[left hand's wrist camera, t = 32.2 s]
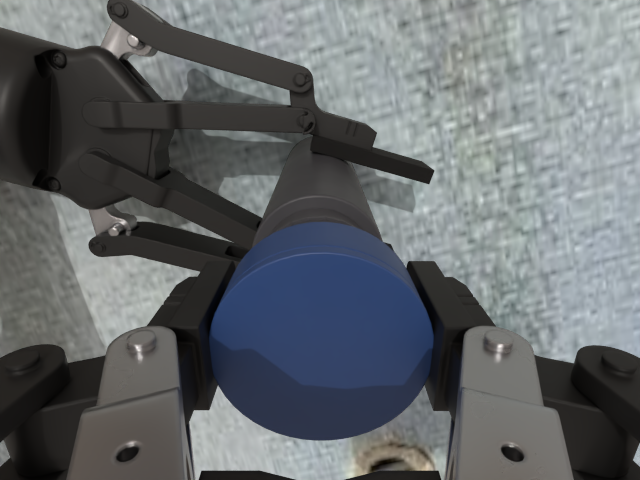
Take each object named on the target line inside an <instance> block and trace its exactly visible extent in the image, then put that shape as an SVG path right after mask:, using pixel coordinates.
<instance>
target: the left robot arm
mask: <svg viewBox="0 0 640 480" xmlns="http://www.w3.org/2000/svg"><path fill="white" fill-rule="evenodd" d="M406 269H407V271H408V273H409V275H410V277H411V279H412V281H413V283H414V285H415V287H416V290H417V292H418V294H419V296H420V298H421V300H422V302H423V304H424V306H425V309H426V311H427V313H428V316H429V318H430V321H431V324H432V329H433V334H434V340H433V349H432V358H431V366H430V373H429V376H428V378H427V380H426V383H425V388H426V391H427V394H428V396H429V399H430V402H431V405H432V408H433V411H449V412H450V414H451V417H452V418H451V424H450V431H449V440H448V450H447V460H446V470H445V480H640V467H639V466H638V465H637V464H636V463H635V462H634V461H633V458H634V456H635V453H636V451H637V448H638V446H639V443H640V358H638V357H636V356H634V355H632V354H630V353H627V352H625V351H622V350H619V349H615V348H611V347H606V346H595V345H593V346H586V347H583V348H581V349H580V350H578V352H577V355H576V358H575V362H574V363H568V362H563V361H558V360H553V359H548V358H543V357H539V356H536V355H534V351H533V348H532V346H531V345H530V344H529V342H528V341H527V340H525V339H524V338H523V337H521V336H520V335H518V334H516V333H514V332H512V331H509V330H506V329H503V328H499V327H496V326H495V324H494V323H493V322H492V320H491V319H490V318H489V316H488V315H487V314H486V312H485V311H484V309H483V308H482V307H481V305H479V303H478V301H477V300H476V299H475V297H473V294H472V293H471V292H470V290H469V289H468V288H467V286H466V285H464V284H463V283H461V282H460V281H458V280H456V279H455V278H453V277H444V275H443V273H442V272H441V270H440V269H439V267H438V266H437V264H436V263H435V262H434V261H409V262H408V264H407V268H406ZM235 270H236V268H235V263H234V261H208V262H207V263H206V264H205V266H204V267H203V269H202V271H201V272H200V274H199V275H198V277H188V278H187V279H185V280H184V281H182V282H181V283H179V284H177V285H176V286H175V288H174V289H173V291H172V292H171V293H170V296H169V297H167V299H166V300H165V302H164V305H162V306H161V307H160V309H159V310H158V311H157V313H156V314H155V315H154V317H153V318H152V320H151V321H150V322H149V324H148V325H147V326H146V327H141V328H137V329H134V330H131V331H128V332H126V333H124V334H122V335H120V336H119V337H117V338H116V339H115V340H113V341H112V342H111V344H110V345H109V346H108V348H107V351H106V355H105V356H101V357H97V358H92V359H87V360H82V361H77V362H71V363H67V359H66V355H65V352H64V350H63V349H62V348H61V347H59V346H56V345H49V344H44V345H35V346H30V347H26V348H22V349H19V350H17V351H14V352H12V353H9V354H7V355H5V356H3V357H1V358H0V442H1V441H2V440H4V441H5V444H6V447H7V449H8V452H9V455H10V457H11V458H9V459H8V460H7V461H6V462H5V463H4V464H3V465H2V466H1V467H0V480H195V470H194V460H193V450H192V440H191V431H190V424H189V421H190V419H191V416H192V413H193V411H194V410H209V409H210V406H211V403H212V401H213V398H214V395H215V392H216V389H217V386H218V383H217V381H216V379H215V377H214V375H213V369H212V362H211V353H210V345H209V332H210V326H211V323H212V320H213V317H214V314H215V312H216V310H217V308H218V306H219V303H220V301H221V299H222V297H223V295H224V293H225V291H226V288H227V286H228V284H229V282H230V280H231V278H232V276H233V274H234V272H235ZM199 480H294V479H290V478H286V477H283V476H279V475H275V474H271V473H267V472H263V471H201V474H200V477H199ZM346 480H441V477H440V474H439V471H377V472H373V473H369V474H365V475H361V476H357V477H354V478H350V479H346Z"/></svg>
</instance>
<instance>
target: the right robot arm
mask: <svg viewBox="0 0 640 480" xmlns="http://www.w3.org/2000/svg"><path fill="white" fill-rule="evenodd" d="M107 11H108V14H109V16H110V18H111V19H112V23H111V25H110V27H109V29H108V31H107V33H106V35H105V37H104V40H103V42H102V44H101V46H88V47H85V48H81V49H73V48H69V47H66V46H63V45H59V44H56V43H52V42H49V41H45V40H42V39H39V38H35V37H32V36H28V35H25V34H21V33H18V32H15V31H11V30H8V29H4V28H1V27H0V180H3V181H7V182H11V183H15V184H19V185H22V186H26V187H30V188H34V189H39V190H45V191H51V192H56V193H60V194H62V195H64V196H66V197H68V198H70V199H71V200H72V201H74V202H75V203H76V204H77V205H79V206H80V207H83V208H85V209H88V210H89V213H90V216H91V220H92V223H93V226H94V230H95V233H96V236H95V237H94V238H92V239H91V240H90V242H89V249H90V251H91V252H92V253H93V254H94V255H96V256H99V257H108V256H122V255H134V256H138V257H142V258H147V259H151V260H155V261H159V262H163V263H167V264H171V265H175V266H179V267H184V268H188V269H192V270H196V271H200V272H201V271H202V269H203V267H204V266H205V264H206V263H207V262H208V261H234V263H235V268H237V266H238V264H239V263H240V262H241V260H242V259H243V257H244V256H245V255H246V254H247V253H248V252H249V251H250V250H251V249H252V246H253V241H254V237H255V235H256V232H257V230H258V227H259V225H260V223H261V220H262V218H261V217H259V216H257V215H255V214H253V213H251V212H250V211H248V210H246V209H244V208H242V207H240V206H238V205H236V204H234V203H232V202H230V201H228V200H226V199H224V198H223V197H221V196H219V195H217V194H215V193H213V192H211V191H209V190H207V189H205V188H203V187H201V186H199V185H197V184H196V183H194V182H192V181H190V180H188V179H187V178H186V177H185V176H184V175H183V174H182V173H180V172H179V171H177V170H175V169H173V168H171V167H169V162H170V161H169V153H168V145H169V143H170V141H171V138H172V136H173V134H174V129H205V130H233V131H260V132H288V133H303V135H305V134H311V135H313V137H312V141H311V146H310V151H314V152H317V153H321V154H324V155H328V156H331V157H335V158H338V159H342V160H346V161H349V162H353V163H356V164H360V165H363V166H367V167H370V168H374V169H377V170H381V171H384V172H388V173H391V174H395V175H398V176H402V177H405V178H409V179H412V180H416V181H420V182H423V183H427V184H429V183H430V181H431V178H432V175H433V173H434V170H433V169H432V168H430V167H429V166H427V165H426V164H425V163H423V162H422V161H419V160H415V159H412V158H409V157H405V156H402V155H398V154H395V153H391V152H388V151H384V150H381V149H377V148H374V147H373V144H374V140H375V137H376V134H377V132H375V131H374V130H373V129H372V128H371V127H369V126H368V125H367V124H365V123H361V122H358V121H355V120H351V119H348V118H345V117H341V116H338V115H334V114H331V113H328V112H325V111H322V110H321V109H320V108H319V107H318V106H317V104H316V102H315V98H314V84H313V76H312V74H311V72H310V71H309V70H308V69H307V68H305V67H303V66H300V65H296V64H293V63H290V62H287V61H283V60H280V59H277V58H274V57H270V56H267V55H264V54H260V53H257V52H254V51H251V50H247V49H244V48H241V47H238V46H234V45H231V44H228V43H225V42H221V41H218V40H215V39H212V38H208V37H205V36H202V35H199V34H195V33H192V32H189V31H186V30H182V29H179V28H176V27H173V26H172V25H170V24H169V23H167V22H166V21H165V20H163V19H162V18H161V17H159V16H158V15H157V14H155V13H154V12H153V11H151V10H150V9H149V8H147V7H145V6H143V5H141V4H139V3H137V2H135V1H132V0H109V1H108V4H107ZM158 50H159V51H162V52H164V53H167V54H170V55H174V56H177V57H180V58H184V59H187V60H190V61H194V62H197V63H200V64H204V65H207V66H210V67H214V68H217V69H220V70H224V71H227V72H230V73H234V74H237V75H240V76H244V77H247V78H250V79H254V80H257V81H260V82H264V83H267V84H270V85H274V86H277V87H280V88H284V89H287V90H290V100H291V105H270V104H244V103H217V102H193V101H175V100H162V99H161V97H160V96H159V95H158V94H157V93H156V92H155V91H154V90H153V88H152V87H151V86H150V85H149V84H148V83H147V82H146V81H145V79H144V78H143V77H142V76H141V75H140V74H139V73H138V71H137V70H136V69H135V68H134V67H133V66H132V65H131V64H130V62H129V61H128V60H127V59H128V58H129V57H130V56H131V55H133V54H136V55H139V56H145V57H151V56H154V55H155V54H156V53H157V52H158ZM130 197H135V198H137V199H139V200H141V201H143V202H145V203H147V204H149V205H151V206H154V207H162V208H166V209H168V210H170V211H172V212H174V213H176V214H178V215H180V216H182V217H184V218H186V219H188V220H190V221H192V222H194V223H196V224H198V225H200V226H202V227H204V228H206V229H208V230H210V231H212V232H214V233H216V234H218V235H220V236H222V237H224V238H226V239H228V240H230V241H232V242H234V243H232V242H228V241H225V240H221V239H217V238H213V237H209V236H205V235H201V234H197V233H193V232H189V231H185V230H181V229H177V228H173V227H169V226H165V225H161V224H157V223H152V222H137V218H136V217H135V216H134V215H130V214H127V213H122V212H120V211H118V210H117V209H116V208H115V206H114V204H115V203H117V202H120V201H123V200H125V199H128V198H130ZM385 244H386V245H387V246H388V247H389V248H390V249H392V250H393V248H392V246H391V244H388V243H385ZM393 251H394V250H393Z"/></svg>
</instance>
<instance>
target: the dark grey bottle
mask: <svg viewBox="0 0 640 480" xmlns="http://www.w3.org/2000/svg"><path fill="white" fill-rule="evenodd" d="M311 141H312V137H309V138H306V139H304V140H302V141H301V142H299V143H298V144H297V145H296V146H295V147H294V148H293V149H292V151H291V152H290V154H289V157H288V159H287V161H286V164H285V166H284V168H283V171H282V173H281V175H280V178H279V180H278V183H277V185H276V187H275V190H274V192H273V194H272V197H271V199H270V201H269V204H268V206H267V209H266V211H265V213H264V216H263V218H262V220H261V223H260V225H259V227H258V230H257V232H256V235H255V237H254V241H253V246H252V248H253V247H254V246H255V245H256V244H258V243H259V242H260V241H261V240H263V239H264V238H266V237H268V236H269V235H271V234H273V233H275V232H277V231H279V230H282V229H284V228H287V227H290V226H294V225H298V224H303V223H310V222H332V223H340V224H344V225H348V226H353V227H355V228H358V229H361V230H363V231H366V232H367V233H369V234H371V235H373V236H375V237H377V238H378V239H379V240H381V241H382V238H381V235H380V232H379V230H378V227H377V225H376V222H375V220H374V217H373V215H372V212H371V210H370V207H369V205H368V202H367V200H366V197H365V195H364V192H363V190H362V187H361V185H360V183H359V180H358V178H357V175H356V173H355V170H354V168H353V165H352V163H351V162H349V161H346V160H342V159H338V158H335V157H331V156H328V155H324V154H321V153H317V152H314V151H310V146H311ZM382 242H383V241H382Z"/></svg>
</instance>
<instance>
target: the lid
mask: <svg viewBox="0 0 640 480" xmlns="http://www.w3.org/2000/svg"><path fill="white" fill-rule="evenodd" d="M433 340H434V334H433V329H432V324H431V321H430V318H429V316H428V313H427V311H426V309H425V306H424V304H423V302H422V300H421V298H420V296H419V294H418V292H417V290H416V287H415V285H414V283H413V281H412V279H411V277H410V275H409V273H408V271H407V269H406V267H405V266H404V264H403V262H402V261H401V260H400V258H399V257H398V256H397V255H396V253H395V252H394V251H393V250H392V249H390V248H389V247H388V246H387V245H386V244H385V243H384V242H382V241H381V240H379V239H378V238H377V237H375V236H373V235H371V234H369V233H367V232H366V231H363V230H361V229H358V228H355V227H353V226H348V225H344V224H340V223H332V222H310V223H303V224H298V225H294V226H290V227H287V228H284V229H282V230H279V231H277V232H275V233H273V234H271V235H269V236H268V237H266V238H264V239H263V240H261V241H260V242H259V243H258V244H256V245H255V246H254V247H253V248H252V249H251V250H250V251H249V252H248V253H247V254H246V255H245V256H244V257H243V259H242V260H241V262H240V263H239V264H238V266H237V268H236V270H235V272H234V274H233V276H232V278H231V280H230V282H229V284H228V286H227V288H226V291H225V293H224V295H223V297H222V299H221V301H220V303H219V306H218V308H217V310H216V312H215V314H214V317H213V320H212V323H211V326H210V332H209V345H210V353H211V362H212V369H213V375H214V377H215V379H216V381H217V383H218V386H219V387H220V389H221V390H222V392H223V393H224V395H225V396H226V398H227V399H228V400H229V401H230V402H231V403H232V405H233V406H234V407H235V408H236V409H238V410H239V411H240V412H241V413H242V414H243V415H245V416H246V417H247V418H249V419H250V420H252V421H253V422H255V423H257V424H258V425H260V426H262V427H264V428H266V429H268V430H271V431H273V432H276V433H279V434H282V435H285V436H289V437H293V438H299V439H305V440H337V439H344V438H349V437H354V436H357V435H361V434H364V433H367V432H369V431H372V430H374V429H376V428H378V427H381V426H382V425H384V424H386V423H387V422H389V421H391V420H392V419H394V418H395V417H396V416H398V415H399V414H400V413H402V412H403V411H404V410H405V409H406V408H407V407H408V406H409V405H410V404H411V403H412V402H413V401H414V399H415V398H416V397H417V396H418V394H419V393H420V391H421V390H422V388H423V386H424V385H425V383H426V380H427V378H428V376H429V373H430V366H431V358H432V349H433Z"/></svg>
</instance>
